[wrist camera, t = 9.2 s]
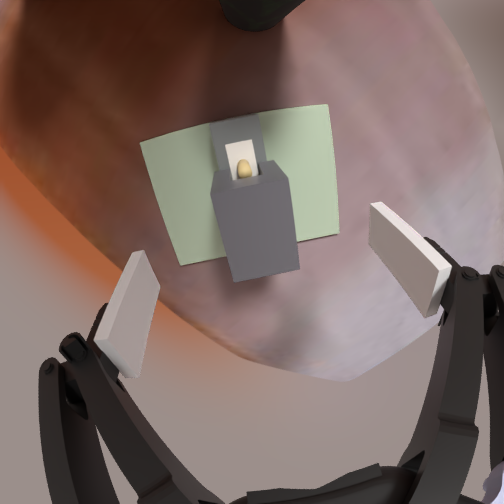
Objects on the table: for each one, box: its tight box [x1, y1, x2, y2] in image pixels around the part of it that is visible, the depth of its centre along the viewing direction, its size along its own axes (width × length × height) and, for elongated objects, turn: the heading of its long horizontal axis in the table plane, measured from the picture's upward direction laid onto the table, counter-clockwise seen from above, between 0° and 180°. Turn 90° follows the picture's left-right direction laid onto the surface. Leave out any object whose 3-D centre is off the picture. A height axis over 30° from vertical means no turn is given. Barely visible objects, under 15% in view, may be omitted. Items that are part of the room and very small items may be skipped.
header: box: [140, 104, 339, 266], centre depth 23 cm, size 14×18×6 cm
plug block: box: [210, 160, 300, 283], centre depth 21 cm, size 7×5×6 cm
